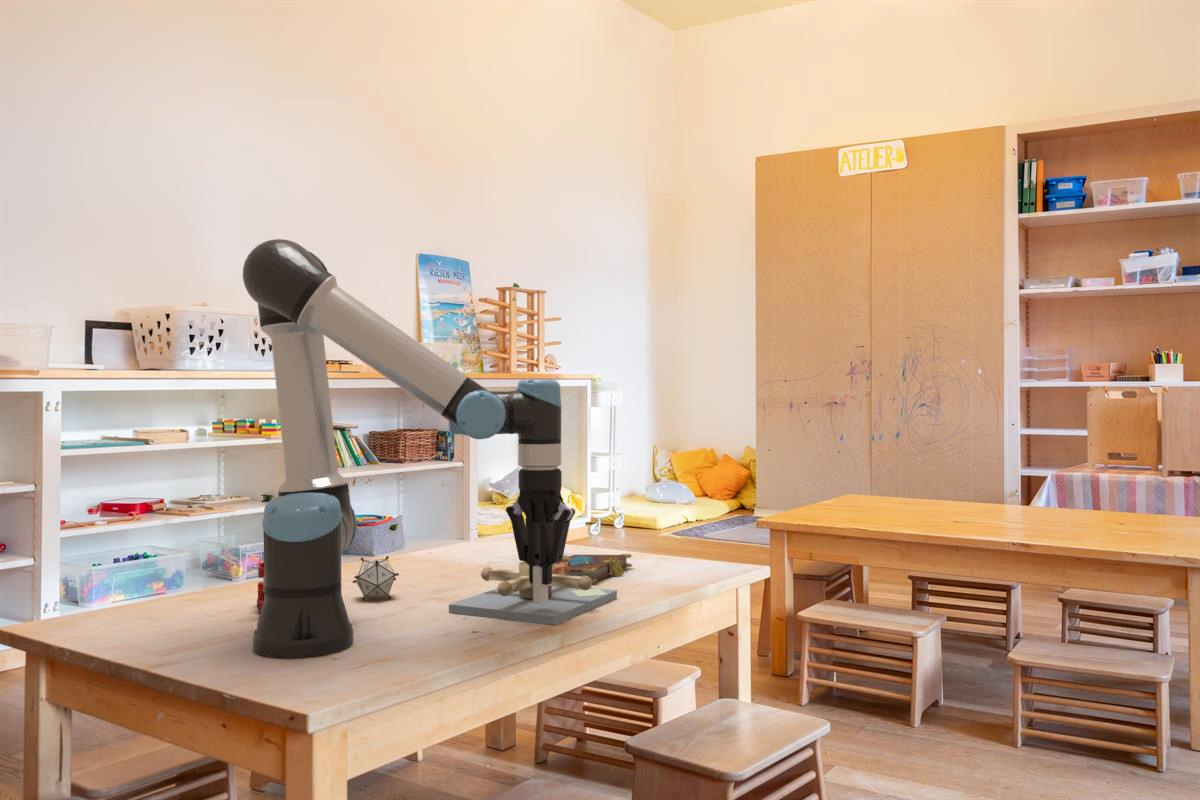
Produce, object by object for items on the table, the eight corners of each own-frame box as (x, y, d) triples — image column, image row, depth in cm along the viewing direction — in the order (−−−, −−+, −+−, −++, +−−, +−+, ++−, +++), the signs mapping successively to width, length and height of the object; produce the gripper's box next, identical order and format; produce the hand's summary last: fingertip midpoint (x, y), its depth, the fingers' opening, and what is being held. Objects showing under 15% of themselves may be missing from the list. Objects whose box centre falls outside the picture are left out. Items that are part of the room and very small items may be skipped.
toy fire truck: (275, 602, 188) (274, 552, 188) (278, 618, 175) (278, 563, 175) (256, 604, 187) (256, 553, 187) (258, 620, 174) (258, 565, 174)
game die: (381, 619, 190) (384, 583, 184) (342, 602, 191) (344, 566, 185) (404, 589, 197) (408, 553, 191) (367, 572, 198) (370, 537, 192)
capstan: (559, 614, 168) (559, 574, 168) (445, 602, 179) (445, 564, 179) (620, 589, 189) (619, 553, 189) (514, 579, 200) (514, 545, 200)
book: (520, 590, 205) (518, 566, 205) (573, 569, 227) (572, 548, 227) (591, 592, 198) (589, 567, 198) (639, 570, 220) (637, 548, 220)
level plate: (557, 625, 168) (556, 610, 168) (448, 612, 178) (448, 598, 178) (618, 598, 190) (618, 584, 190) (518, 588, 200) (518, 575, 200)
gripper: (583, 467, 173) (583, 601, 174) (519, 465, 179) (520, 595, 179) (562, 470, 167) (562, 610, 167) (496, 468, 172) (497, 603, 173)
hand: (540, 602), depth 173 cm, fingers closed
